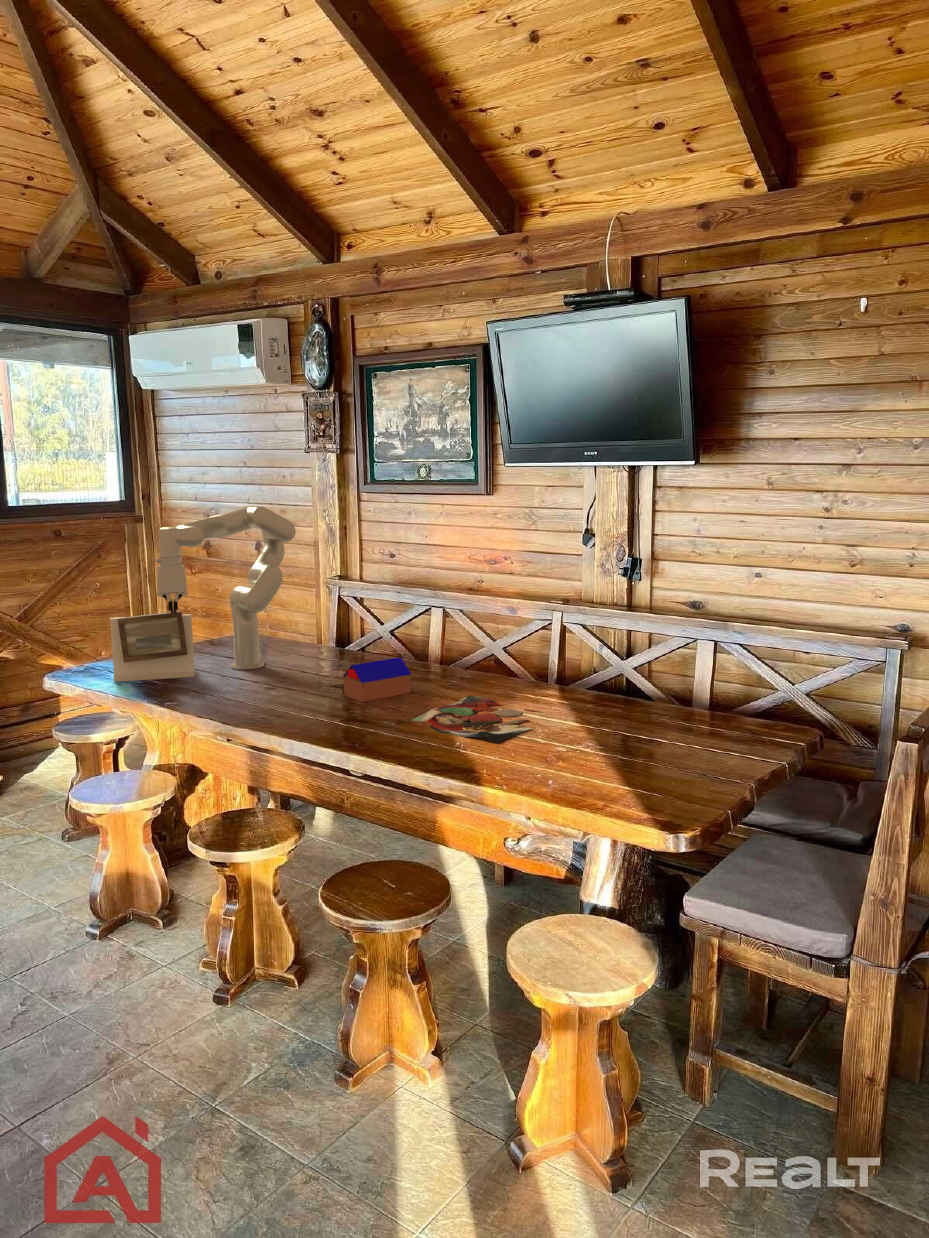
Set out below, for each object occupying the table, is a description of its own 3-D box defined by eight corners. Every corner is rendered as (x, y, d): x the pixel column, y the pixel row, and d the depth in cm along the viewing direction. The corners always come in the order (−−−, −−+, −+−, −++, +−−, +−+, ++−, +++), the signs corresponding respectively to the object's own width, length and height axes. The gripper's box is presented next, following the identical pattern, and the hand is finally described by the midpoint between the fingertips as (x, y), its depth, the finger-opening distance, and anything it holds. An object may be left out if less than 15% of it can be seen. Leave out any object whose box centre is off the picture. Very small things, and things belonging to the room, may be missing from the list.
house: (411, 693, 313) (411, 659, 311) (362, 702, 300) (361, 668, 298) (391, 686, 322) (391, 654, 320) (343, 695, 309) (342, 662, 307)
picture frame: (124, 661, 331) (118, 618, 328) (187, 653, 337) (181, 610, 334) (123, 662, 329) (117, 619, 326) (187, 654, 334) (181, 611, 331)
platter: (400, 726, 274) (400, 719, 274) (469, 701, 303) (469, 695, 303) (498, 746, 254) (498, 739, 253) (562, 717, 282) (562, 711, 282)
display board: (116, 677, 338) (111, 615, 335) (194, 672, 346) (191, 612, 342) (114, 681, 331) (109, 619, 327) (194, 676, 338) (191, 615, 334)
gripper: (148, 563, 323) (150, 614, 326) (192, 562, 327) (194, 612, 330) (149, 561, 330) (151, 611, 333) (192, 560, 334) (195, 609, 337)
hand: (173, 612), depth 332 cm, fingers closed
